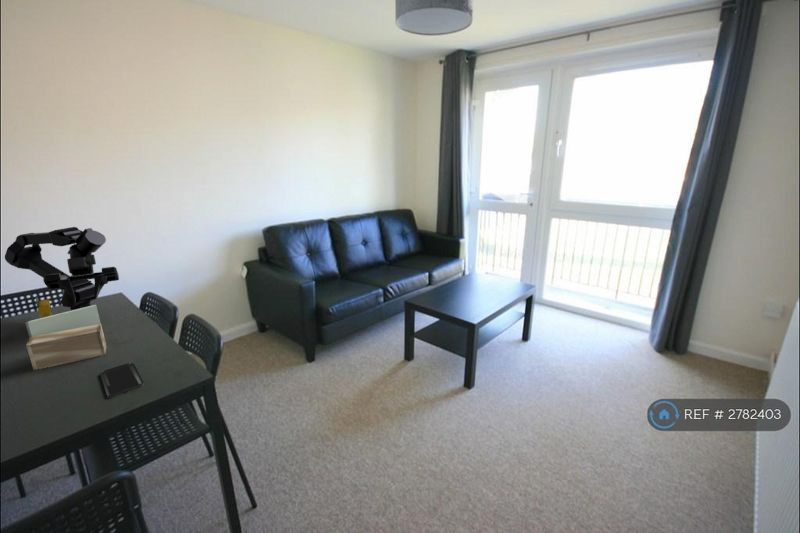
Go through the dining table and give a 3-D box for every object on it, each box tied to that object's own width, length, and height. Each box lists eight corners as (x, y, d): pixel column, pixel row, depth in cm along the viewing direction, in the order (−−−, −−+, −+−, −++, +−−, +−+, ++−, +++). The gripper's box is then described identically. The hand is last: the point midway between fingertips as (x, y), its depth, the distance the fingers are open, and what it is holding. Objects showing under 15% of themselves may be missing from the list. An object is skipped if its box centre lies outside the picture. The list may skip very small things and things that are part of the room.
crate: (38, 361, 108) (30, 336, 106) (106, 346, 117) (101, 323, 115) (33, 370, 104) (26, 345, 101) (105, 354, 112) (99, 331, 110)
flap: (35, 359, 109) (24, 322, 105) (103, 338, 122) (95, 304, 118) (36, 360, 108) (25, 323, 105) (104, 339, 121) (96, 305, 118)
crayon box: (56, 331, 126) (47, 300, 122) (44, 334, 124) (35, 302, 120) (56, 324, 131) (47, 294, 128) (44, 326, 129) (35, 296, 126)
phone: (132, 361, 108) (144, 384, 98) (133, 365, 108) (144, 387, 98) (98, 372, 102) (107, 396, 92) (99, 375, 103) (108, 400, 93)
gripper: (36, 250, 115) (38, 294, 110) (111, 244, 126) (116, 283, 120) (47, 268, 124) (50, 309, 118) (116, 260, 134) (121, 298, 129)
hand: (85, 299), depth 121 cm, fingers open, 5 cm apart
